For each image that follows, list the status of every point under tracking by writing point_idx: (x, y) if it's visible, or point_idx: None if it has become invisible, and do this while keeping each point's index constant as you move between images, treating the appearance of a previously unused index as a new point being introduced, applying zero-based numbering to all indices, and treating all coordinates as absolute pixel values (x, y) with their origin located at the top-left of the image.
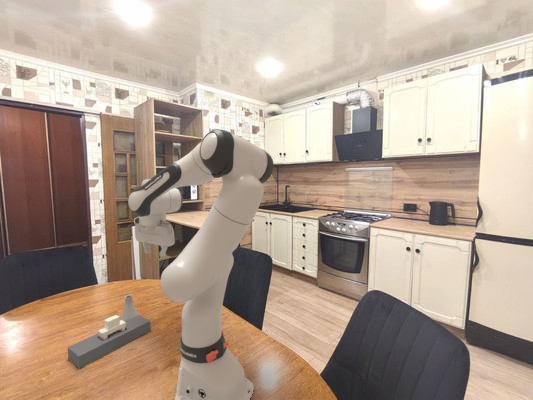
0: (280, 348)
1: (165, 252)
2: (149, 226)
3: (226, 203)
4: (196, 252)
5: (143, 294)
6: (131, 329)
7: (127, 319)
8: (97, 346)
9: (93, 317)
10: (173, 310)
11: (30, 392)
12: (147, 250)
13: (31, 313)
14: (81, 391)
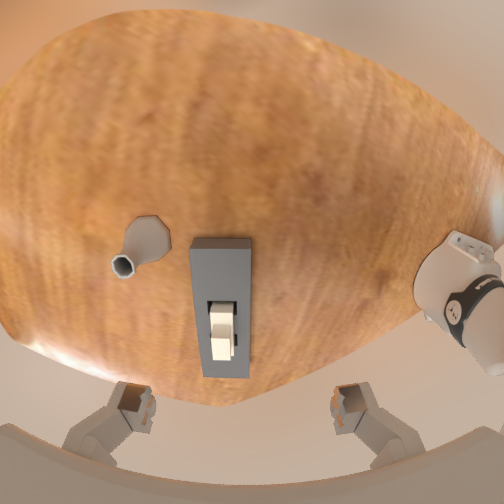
0: (499, 154)
1: (375, 403)
2: None
3: None
4: None
5: (49, 140)
6: (247, 297)
7: (161, 255)
8: (247, 356)
9: (82, 280)
10: (208, 131)
11: (243, 397)
12: (149, 419)
13: (19, 323)
14: (301, 372)
